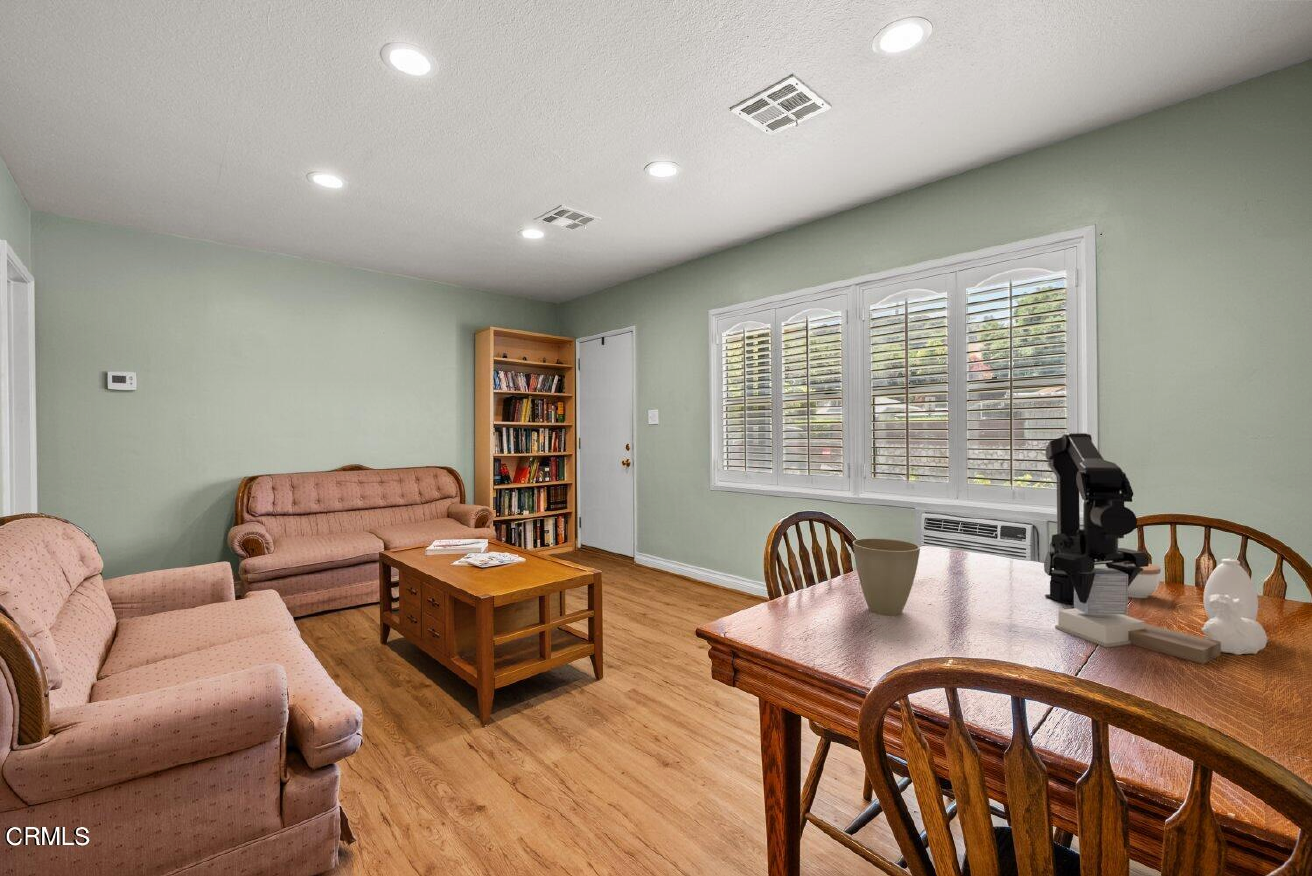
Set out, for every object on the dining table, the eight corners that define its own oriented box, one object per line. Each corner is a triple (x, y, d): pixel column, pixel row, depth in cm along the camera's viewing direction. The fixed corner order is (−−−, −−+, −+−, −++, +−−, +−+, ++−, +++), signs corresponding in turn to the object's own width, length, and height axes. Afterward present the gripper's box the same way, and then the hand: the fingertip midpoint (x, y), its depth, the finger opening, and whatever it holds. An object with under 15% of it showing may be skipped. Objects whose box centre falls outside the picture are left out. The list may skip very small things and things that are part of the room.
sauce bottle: (1241, 641, 112) (1241, 552, 111) (1194, 628, 119) (1195, 544, 119) (1267, 637, 114) (1268, 549, 114) (1219, 624, 121) (1220, 542, 121)
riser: (1094, 623, 123) (1094, 605, 123) (1148, 641, 112) (1148, 622, 112) (1055, 628, 120) (1055, 609, 120) (1106, 647, 110) (1106, 627, 110)
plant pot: (911, 626, 122) (911, 554, 122) (844, 613, 131) (844, 545, 131) (926, 608, 134) (926, 542, 134) (863, 597, 143) (863, 535, 143)
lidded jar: (1096, 592, 145) (1096, 556, 145) (1119, 586, 150) (1119, 552, 150) (1146, 603, 136) (1146, 565, 135) (1169, 597, 140) (1169, 560, 140)
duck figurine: (1256, 658, 109) (1218, 602, 116) (1295, 646, 103) (1252, 588, 110) (1202, 661, 108) (1166, 604, 115) (1238, 650, 102) (1198, 590, 109)
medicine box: (1112, 608, 118) (1112, 568, 118) (1128, 615, 114) (1128, 573, 113) (1072, 607, 119) (1073, 567, 118) (1087, 614, 114) (1087, 572, 114)
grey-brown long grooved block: (1141, 634, 116) (1141, 622, 116) (1220, 655, 105) (1220, 642, 105) (1123, 642, 112) (1123, 629, 112) (1203, 664, 102) (1203, 650, 102)
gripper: (1096, 517, 126) (1096, 586, 126) (1029, 522, 121) (1029, 593, 122) (1151, 526, 115) (1150, 601, 115) (1079, 531, 111) (1078, 609, 111)
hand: (1100, 600), depth 116 cm, fingers closed on medicine box, 9 cm apart
